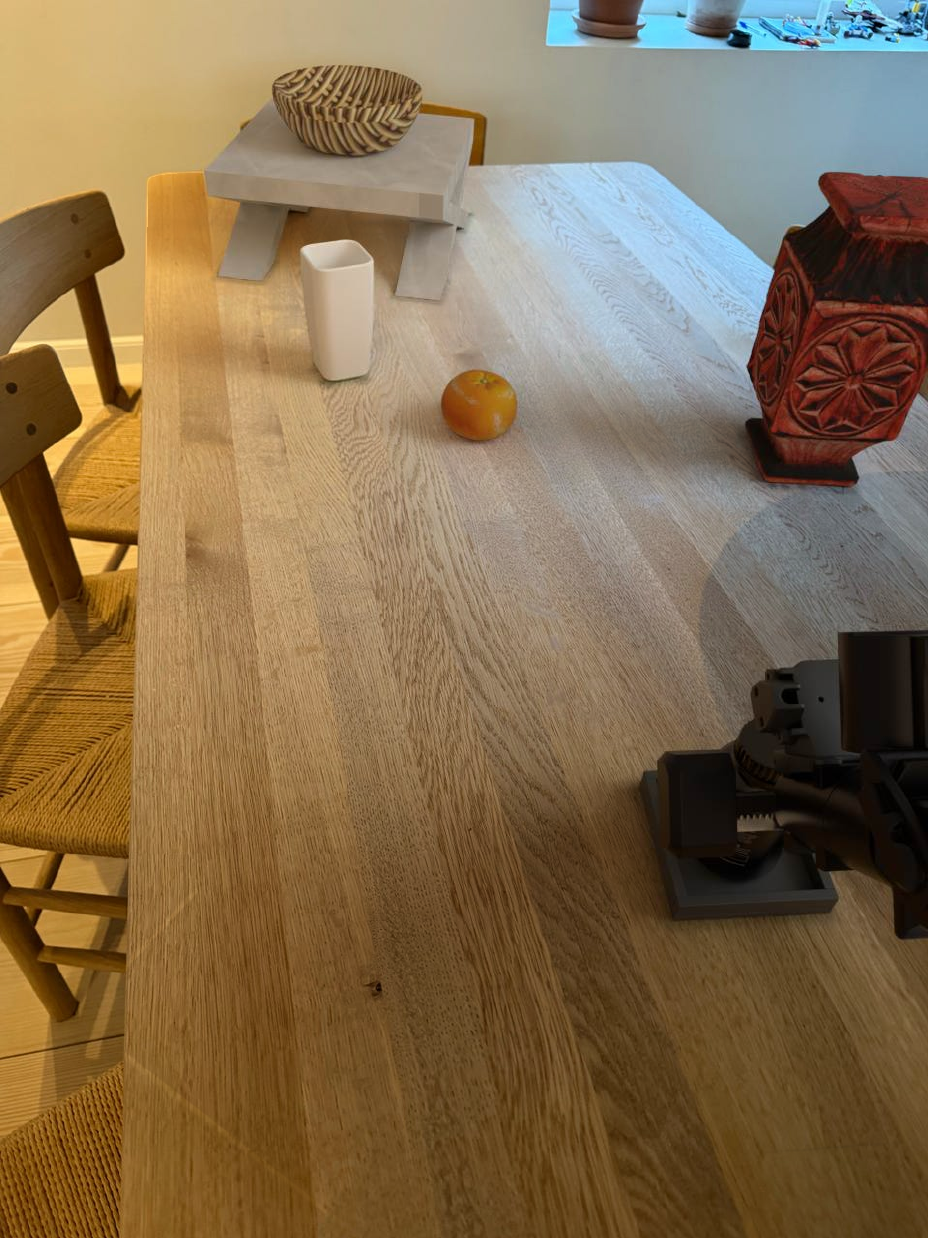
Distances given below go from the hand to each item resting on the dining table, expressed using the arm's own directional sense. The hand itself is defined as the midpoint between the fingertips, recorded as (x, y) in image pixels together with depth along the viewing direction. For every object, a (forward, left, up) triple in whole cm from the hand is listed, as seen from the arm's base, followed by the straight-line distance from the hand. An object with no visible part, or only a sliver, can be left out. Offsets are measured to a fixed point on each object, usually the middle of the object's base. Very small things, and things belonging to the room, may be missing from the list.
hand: (757, 777), depth 67 cm
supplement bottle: (0, 0, -8) cm, 8 cm away
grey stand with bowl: (+95, +59, -8) cm, 112 cm away
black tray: (0, 0, -8) cm, 8 cm away
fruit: (+50, +30, -8) cm, 59 cm away
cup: (+58, +49, -8) cm, 76 cm away
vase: (+55, -7, -8) cm, 56 cm away
